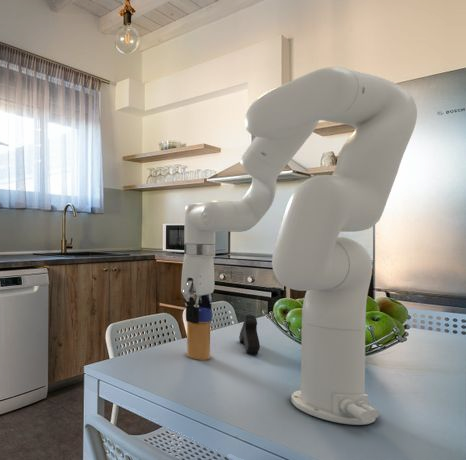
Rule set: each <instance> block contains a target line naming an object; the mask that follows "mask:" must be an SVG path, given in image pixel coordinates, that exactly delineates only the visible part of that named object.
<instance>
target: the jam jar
mask: <svg viewBox="0 0 466 460" xmlns="http://www.w3.org/2000/svg"><path fill="white" fill-rule="evenodd" d="M186 322H187V321H186ZM186 326H187V327H186V328H187V329H186V330H187V331H186V356H187V357H188V358H190V359H193V360H197V361H198V360H199V361H207V360H210V358H211V321H210V322H199V323H192V322H187V323H186Z"/></svg>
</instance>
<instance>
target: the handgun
mask: <svg viewBox="0 0 466 460" xmlns="http://www.w3.org/2000/svg"><path fill="white" fill-rule="evenodd" d="M257 326H258V320H257V318H256V316H255V315H253V314H251V313H249V314H247V315H245V317H244V320H243V323H242V326H241V329H240V331H239V337H238V339H239V344H244V349H245V353H246V354H247V355H258V354H259V352H260V348H261V345H260V339H259V335H258V327H257Z"/></svg>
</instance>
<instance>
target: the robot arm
mask: <svg viewBox="0 0 466 460" xmlns="http://www.w3.org/2000/svg"><path fill="white" fill-rule="evenodd" d="M417 117H418V108H417V104H416V101H415V100H414V97H413V95H411V93H410V92H409V91H408V90H407V89H405V88H404V87H402V86H401V85H399V84H397V83H395V82H393V81H391V80H389V79H385V78H383V77H380V76H376V75H373V74H369V73H365V72H360V71H357V70H353V69H350V68H349V69H348V68H346V67H339V66H338V67H337V66H329V67H324V68H319V69H316V70H313V71H311V72H309V73H306V74H304V75H302V76H299V77H297V78H295V79H293V80H291V81H288V82H286V83H284V84H282V85H279V86H277V87H275V88H273V89H270V90H269V91H267V92H265V93H263V94H262V95H260V96H259V97H258V98H257V99H255V100H254V101H253V102H252V103H251V105H250V106H249V107H248V109H247V110H246V114H245V118H244V125H245V129H246V131H247V133H249V134H250V135H251V136H253V137H254V138H253V140H252V141H251V143H250V144H249V146H248V147H247V149H245V152H244V153H243V154H242V155H241V158H240V160H239V163H240V166H241V168H242V169H243V170H244V171H245V173H247V174H248V176H250V177H251V178H252V179H251V184H250V187H249V188H248V190H247V191H246V193H245V194H244V195H243V197H242V198H241V199H240V200H239V201H238V200H208V201H205V202H196V203H195V202H194V203H189V204H187V205H186V206H185V208H184V229H183V230H184V232H183V233H184V235H183V236H184V237H183V238H184V240H183V241H184V243H183V248H184V249H183V262H182V269H181V282H180V283H181V284H180V285H181V286H180V292H181V294H182V297H183V299H184V302H185V303H184V305H185V321H186V322H192V323H199V307H206V308H210V309H212V304H213V295H214V291H215V283H216V282H215V279H216V278H215V261H214V258H216V233H243V232H247V231H249V230H251V229H252V228H254V227H255V226H256V225H257V224H258V223H259V222H260V221H261V220H262V219H263V218H264V216H265V215H266V214H267V212H269V210H270V209H271V207H272V206H273V203H274V201H275V196H276V192H277V179H278V178H279V176H280V175H281V173H282V172H283V171H284V170H285V168H286V167H287V165H288V164H289V163H290V162H291V160H293V158H294V157H295V155H296V154H297V153H298V152H299V151H300V149H301V148H302V147H303V145H304V144H305V142H306V141H307V140H308V139H309V138H310V137H311V135H312V134H313V133H314V131H315V130H316V128H317V127H318V125H319V122H320V121H325V122H330V123H335V124H340V125H341V124H342V125H348V126H351V127H353V128H354V131H353V133H351V135H350V136H349V137H348V138H347V139H346V141H345V142H344V144H343V145H342V147H341V149H340V152H339V154H338V157H337V158H338V159H337V161H336V164H335V167H334V170H333V172H332V174H319V175H315V176H311V177H309V178H308V179H305V180H304V181H302V182H301V183H300V184H299V185H298V186H297V187H296V188H295V189H294V191H293V192H292V194H291V195H290V197H289V199H288V201H287V204H286V207H285V210H284V214H283V216H282V220H281V224H280V227H279V230H278V233H277V237H276V241H275V244H274V247H273V252H272V257H271V265H272V266H271V267H272V271H273V274H274V276H275V278H276V280H278V282H279V283H280V284H281V285H282V286H284V287H285V288H288V289H291V290H294V291H300V292H305V294H304V298H303V302H302V307H301V309H302V310H301V337H300V338H301V339H300V340H301V342H300V343H301V344H300V345H301V348H300V349H301V350H300V351H301V352H300V353H301V354H300V355H301V357H300V365H301V366H300V390H296V391H294V392H292V394H291V396H290V398H291V399H290V400H291V401H290V402H291V404H293V406H294V407H295V408H297V409H298V410H299V411H301V412H303V413H306V414H307V415H310V416H313V417H315V418H318V419H321V420H325V421H328V422H333V423H336V424H337V423H338V424H343V425H351V426H353V425H354V426H365V425H370V424H372V423H374V422H375V421H376V419H377V418H379V417H380V410H378V409H376V408H374V407H372V406H371V405H369V404H370V396H369V394H366V325H367V324H366V322H367V321H366V319H367V301H368V294H369V289H370V286H371V285H370V284H371V280H372V276H373V275H372V274H373V263H372V258H371V255H370V254H369V252H368V250H367V249H366V248H365V247H364V246H363V245H362V244H361V243H359V242H358V241H356V240H354V239H352V238H348V237H344V236H339V235H340V232H341V233H347V232H349V233H350V232H353V233H354V232H362V231H367V230H370V229H371V228H373V227H375V226H376V224H377V223H378V222H380V220H381V218H382V216H383V213H384V211H385V208H386V205H387V202H388V199H389V197H390V194H391V192H392V188H393V186H394V183H395V181H396V178H397V176H398V172H399V170H400V165H401V163H402V160H403V158H404V154H405V152H406V149H407V147H408V146H409V142H410V140H411V138H412V135H413V133H414V130H415V127H416V123H417V120H418V119H417ZM199 301H200V302H199Z"/></svg>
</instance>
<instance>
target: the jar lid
mask: <svg viewBox="0 0 466 460" xmlns="http://www.w3.org/2000/svg"><path fill="white" fill-rule="evenodd" d="M198 307H199V306H198ZM212 321H213V309H212V308H211V309H210V308H206V307H199V322H210V323H211V322H212Z"/></svg>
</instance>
